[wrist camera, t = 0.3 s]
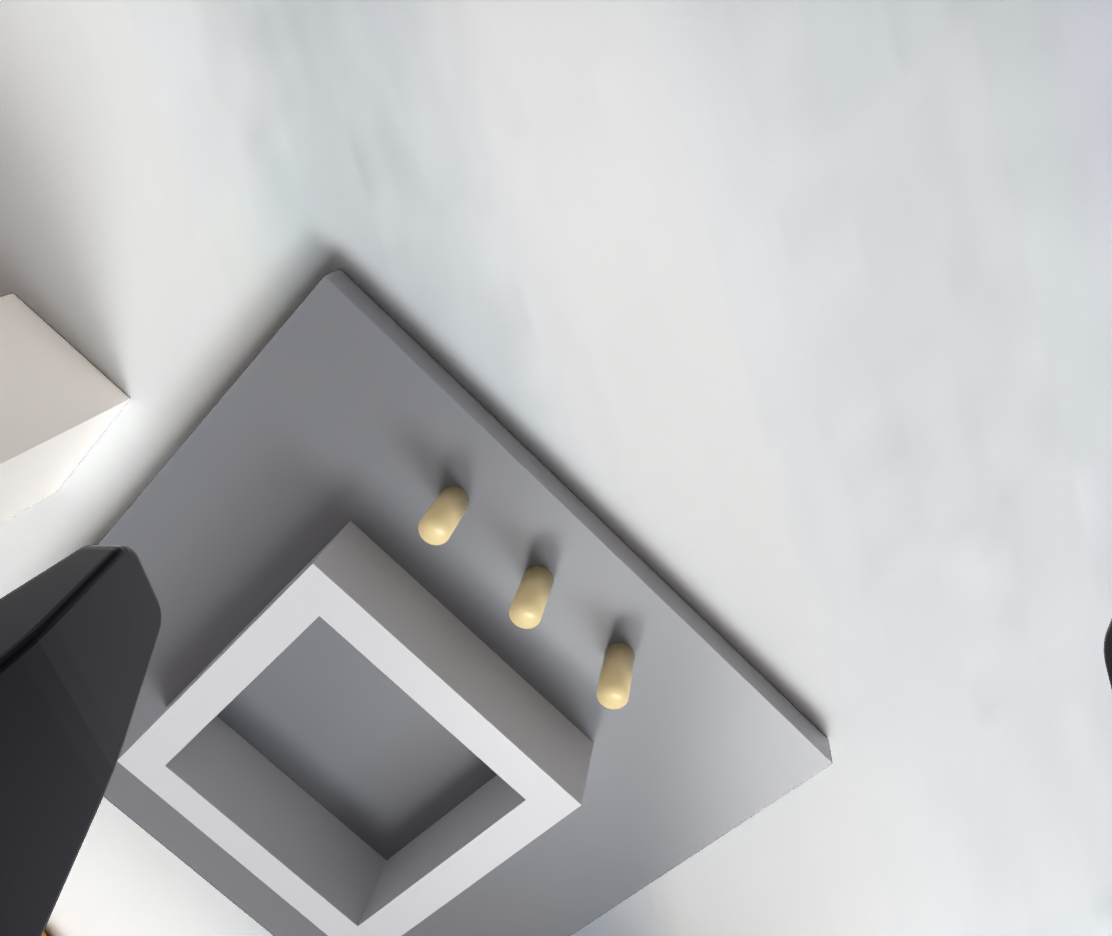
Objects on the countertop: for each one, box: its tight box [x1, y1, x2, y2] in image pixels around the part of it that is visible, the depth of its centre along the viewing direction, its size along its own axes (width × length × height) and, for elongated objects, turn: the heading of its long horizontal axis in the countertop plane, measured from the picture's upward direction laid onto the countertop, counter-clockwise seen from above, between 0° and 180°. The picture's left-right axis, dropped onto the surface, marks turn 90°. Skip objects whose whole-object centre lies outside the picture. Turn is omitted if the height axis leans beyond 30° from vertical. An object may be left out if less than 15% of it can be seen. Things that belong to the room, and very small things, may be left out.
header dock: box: [98, 269, 832, 936], centre depth 26 cm, size 18×18×4 cm
